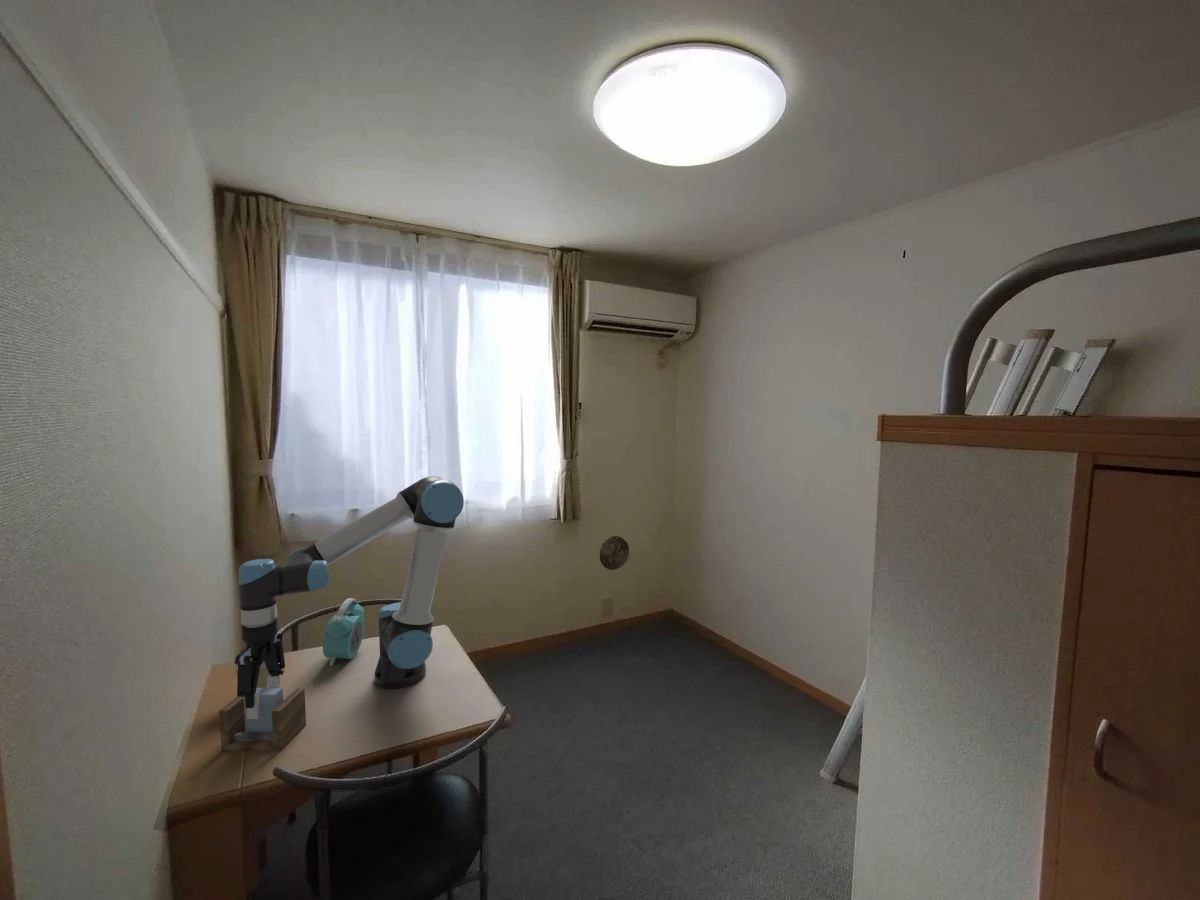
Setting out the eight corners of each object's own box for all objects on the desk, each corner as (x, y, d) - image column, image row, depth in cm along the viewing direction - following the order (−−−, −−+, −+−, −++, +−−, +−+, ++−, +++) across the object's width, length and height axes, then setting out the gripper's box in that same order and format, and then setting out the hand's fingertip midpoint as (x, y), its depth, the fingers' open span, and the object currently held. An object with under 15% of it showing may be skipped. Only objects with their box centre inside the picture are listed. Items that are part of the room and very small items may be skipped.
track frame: (306, 725, 132) (304, 688, 131) (281, 750, 122) (279, 710, 121) (250, 724, 132) (248, 687, 131) (221, 750, 122) (219, 710, 121)
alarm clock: (341, 645, 177) (339, 591, 176) (369, 644, 178) (367, 590, 177) (318, 670, 160) (315, 610, 159) (349, 669, 161) (346, 609, 159)
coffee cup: (255, 709, 139) (252, 658, 138) (228, 706, 141) (225, 654, 140) (282, 692, 148) (279, 643, 147) (256, 688, 150) (254, 640, 148)
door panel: (284, 728, 129) (282, 688, 128) (276, 736, 126) (274, 694, 125) (253, 728, 129) (251, 688, 128) (245, 736, 126) (243, 694, 125)
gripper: (271, 606, 135) (275, 687, 137) (213, 639, 115) (219, 733, 117) (298, 606, 135) (302, 687, 136) (245, 639, 115) (250, 734, 117)
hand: (263, 708), depth 127 cm, fingers open, 7 cm apart
